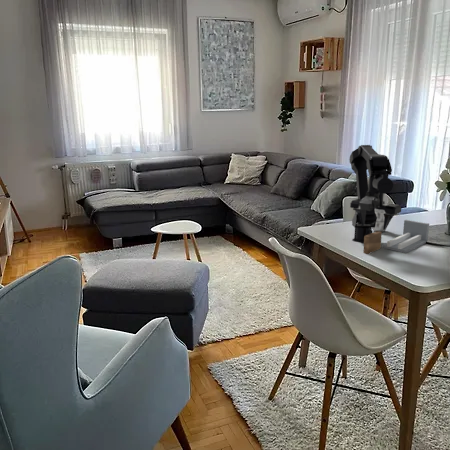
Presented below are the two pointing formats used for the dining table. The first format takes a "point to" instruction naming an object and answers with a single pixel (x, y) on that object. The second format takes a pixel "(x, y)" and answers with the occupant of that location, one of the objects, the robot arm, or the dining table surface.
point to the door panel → (372, 242)
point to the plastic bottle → (380, 216)
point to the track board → (409, 237)
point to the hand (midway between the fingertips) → (373, 227)
